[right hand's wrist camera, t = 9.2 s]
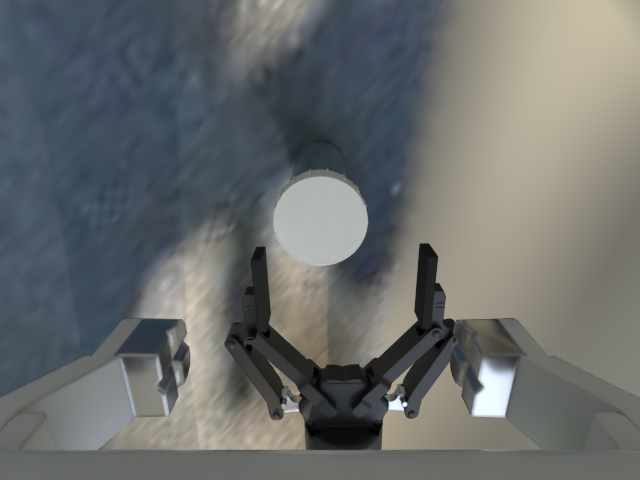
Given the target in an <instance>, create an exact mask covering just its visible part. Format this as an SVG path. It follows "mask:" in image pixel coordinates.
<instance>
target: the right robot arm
mask: <svg viewBox="0 0 640 480" xmlns="http://www.w3.org/2000/svg"><path fill="white" fill-rule="evenodd" d="M186 334H187V330H186V325H185V322H184V321H183V320H182V319H147V318H146V319H144V318H127V319H124V320H122V321H121V322H120V323H119V325H118V326H117V327H116V328H115V329H114V330H113V331H112V333H111V334H110V335H109V336H108V337H107V338H106V340H105V341H104V342H103V343H102V344H101V345H100V346H99V348H98V349H97V350H96V351H95V352H94V353H93V354H92V356H84V357H82V358H80V359H78V360H76V361H74V362H72V363H70V364H68V365H65V366H63V367H61V368H59V369H57V370H55V371H53V372H51V373H49V374H47V375H45V376H43V377H41V378H39V379H37V380H35V381H33V382H31V383H29V384H27V385H25V386H23V387H21V388H19V389H17V390H15V391H13V392H11V393H9V394H7V395H5V396H2V397H0V480H640V398H639V397H637V396H635V395H633V394H631V393H629V392H627V391H625V390H623V389H621V388H619V387H617V386H615V385H613V384H611V383H609V382H607V381H605V380H603V379H601V378H599V377H597V376H595V375H593V374H591V373H589V372H587V371H585V370H583V369H581V368H579V367H576V366H574V365H572V364H570V363H568V362H566V361H564V360H562V359H560V358H558V357H556V356H548V355H547V353H546V352H545V351H544V350H543V349H542V348H541V346H540V345H539V344H538V343H537V342H536V341H535V340H534V338H533V337H532V336H531V335H530V334H529V333H528V331H527V330H526V329H525V328H524V327H523V326H522V325H521V323H520V322H519V321H518V320H516V319H514V318H502V319H471V320H456V322H455V325H454V330H453V334H454V336H455V338H456V340H457V341H456V342H455V343H454V344H453V345H452V346H451V350H450V368H451V372H452V376H453V378H454V380H455V383H456V384H458V385H459V386H461V387H462V388H463V390H462V398H463V400H464V402H465V404H466V406H467V408H468V410H469V412H470V415H471V416H481V417H506V419H507V420H508V421H509V422H510V423H512V424H513V425H514V426H515V427H516V428H517V429H519V430H520V431H521V432H522V433H523V434H525V435H526V436H527V437H528V438H529V439H530V440H532V441H533V442H534V443H535V444H536V445H538V446H539V447H540V448H541V449H542V450H98V449H99V448H100V447H101V446H103V445H104V444H105V443H106V442H107V441H109V440H110V439H111V438H112V437H113V436H114V435H116V434H117V433H118V432H119V431H120V430H122V429H123V428H124V427H125V426H126V425H127V424H129V423H130V422H131V421H132V420H133V419H134V417H159V416H169V415H170V413H171V411H172V408H173V406H174V404H175V402H176V400H177V398H178V390H177V388H178V387H179V386H181V385H182V384H184V383H185V380H186V378H187V376H188V372H189V367H190V350H189V346H188V345H187V344H186V343H185V342H184V341H183V340H184V338H185V336H186Z"/></svg>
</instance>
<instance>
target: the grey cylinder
mask: <svg viewBox="0 0 640 480" xmlns="http://www.w3.org/2000/svg"><path fill="white" fill-rule="evenodd" d="M309 169H311V170H326V169H328V170H329V171H334V172H336V173H339V174H341V175H343V174H344V175H345V177H346V178H347V179H349V180H350V177H349V174H348V171H347V168H346V165H345V162H344V159H343V157H342V154H341V153H340V151H339V150H338V149H337V148H336V147H335V146H333V145H332V144H330V143H327V142H314V143H311V144H309V145H307V146H306V147H305V148H304V149H303V150H302V151H301V152H300V154H299V156H298V158H297V161H296V164H295V167H294V170H293V173H292V176H291V179H290V181H291V180H292V179H293V177H294V176H295V177H296V176H298V175H300V174H302V173H304V172H308V171H309ZM350 181H351V180H350Z"/></svg>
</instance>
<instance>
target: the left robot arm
mask: <svg viewBox="0 0 640 480" xmlns="http://www.w3.org/2000/svg"><path fill="white" fill-rule="evenodd" d="M437 262H438V256H437V254H436V253H435V252H434V250H433V249H432V247H431V246H430V245H429V244H428V243H427V244H420V246H419V259H418V272H417V285H416V298H415V310H414V311H415V314H416V316H417V318H418V321H417V322H416V323H415V324H414V325H413V326H412V327H411V328H410V329H408V330H407V331H406V332H405V333H404V334H403V335H402V336H401V337H400V338H399V339H398V340H397V341H396V342H395V343H394V344H393V345H392V346H391V347H389V348H388V349H387V350H386V351H385V352H384V353H383V354H382V355H381V356H380V357H379V358H374V359H372V360H371V361H370V362H369V363H368V364H367V365H366V366H365V367H364V368H362V367H360V366H359V364H351V365H347V366H338V365H326V368H323V369H321V368H320V367H319V366H318V365H317V364H315V363H314V362H313V361H312V360H311V359H306V358H305V357H304V356H303V355H302V354H301V353H299V352H298V351H297V350H296V349H295V348H294V347H293V346H292V345H291V344H290V343H288V342H287V341H286V340H285V339H284V338H283V337H282V336H281V335H280V334H279V333H278V332H276V331H275V330H274V329H273V328H272V327H271V326H270V325H269V319H270V315H271V311H270V299H269V286H268V274H267V261H266V249H265V247H256V249H255V252H254V254H253V257H252V259H251V266H252V276H253V287H247V289H246V291H245V294H244V297H243V300H242V301H243V310H244V319H245V322H243V323H239V322H235V323H233V324H232V325H231V327H230V330H229V333H228V335H227V338H226V341H225V346H226V348H227V349H228V351H229V352H230V353H231V355H232V356H233V357H234V359H235V360H236V361H237V363H238V364H239V366H240V367H241V368H242V370H243V371H244V372H245V374H246V375H247V376H248V378H249V379H250V380H251V382H252V383H253V384H254V386H255V387H256V388H257V390H258V391H259V392H260V394H261V395H262V396H263V398H264V399H265V401H266V402H267V405H268V409H269V413H270V417H271V418H272V419H273V420H276V421H278V420H281V419H282V418H283V413H284V412H293V411H300V413H301V414H302V415H303V417H304V421H305V441H306V450H381V444H382V425H383V417H384V415H385V414H386V412H387V411H388V410H400V411H404V412H405V416H406V417H407V418H410V419H413V418H415V417H417V415H418V413H419V409H420V404H421V400H422V399H423V397H424V396H425V395H426V393H427V392H428V391H429V389H430V388H431V386H432V385H433V384H434V382H435V381H436V380H437V378H438V377H439V375H440V374H441V373H442V371H443V370H444V369H445V367H446V366H447V364H448V363H449V362H450V350H451V346H452V345H453V344H454V343H455V342H456V341H457V340H456V338H455V336H454V334H453V330H454V325H455V322H454V320H453V319H443V317H444V307H445V299H446V296H445V293H444V291H443V289H442V287H441V286H440V284H439V283H436V272H437ZM266 358H267V359H268V360H269V361H270V362H271V363H272V364H273V365H275V366H276V367H277V368H278V369H279V370H280V371H281V372H283V373H284V374H285V375H286V376H287V377H288V378H289V379H291V380H292V381H293V382H294V383H295V384H296V385H297V387H298V390H299V391H300V395H299V396H296V395H293V394H292V393H291V391H290V390H289V387H288V386H286V385H285V386H283V384H282V381H281V379H280V377H279V376H278V374H277V373H276V371H275V370H274V368H273V367H272V366H271V364H270V363H269V361H268V360H267V359H266ZM414 362H415V363H414ZM413 363H414V364H413ZM412 364H413V365H412ZM411 365H412V367H411V368H410V370H409V371H408V373H407V375H406V376H405V378H404V380H403V384H398V385H397V389H396V390H395V392H394V393H392V394H387V392H388V391H389V390H390V388H391V384H392V382H394V381H395V380H396V379H397V378H398V377H399V376H400V375H401V374H402V373H403V372H405V371H406V370H407V369H408V368H409V367H410V366H411Z"/></svg>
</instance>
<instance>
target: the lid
mask: <svg viewBox="0 0 640 480" xmlns="http://www.w3.org/2000/svg"><path fill="white" fill-rule="evenodd" d="M366 207H367V205H366V203H365V200H364V199H362V197H361V194H360V192H359V189H358V187H357V185H354V184H353V183H352V182H351V181H350V180H349V179H347V178H346V177H345V175H344V174H343V175H341V174H339V173H336V172H334V171H329V170H328V169H326V170H311V169H309V171H308V172H304V173H302V174H300V175H298V176H296V177H295V176H294V177H293V179H292V180H291V181H290V182H289V183H288V184H287V185H286V186H285V187H284V188H282V189H281V192H280V196H279V199H278V201H277V202H276V203H275V206H274V209H273V210H274V215H273V227H274V232H275V235H276V238H277V240H278V242H279V243H280V245H281V246H282V248H283V249H284V250H285V251H286V252H287V253H288V254H289V255H290V256H292V257H293V258H295V259H296V260H298V261H300V262H303V263H306V264H310V265H316V266H325V265H331V264H335V263H338V262H340V261H343V260H344V259H346V258H348V257H349V256H350V255H352V254H353V253H354V252H355V251H356V250H357V249H358V247H359V246H360V245H361V243H362V241H363V239H364V237H365V234H366V231H367V226H368V216H367V210H366Z"/></svg>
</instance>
